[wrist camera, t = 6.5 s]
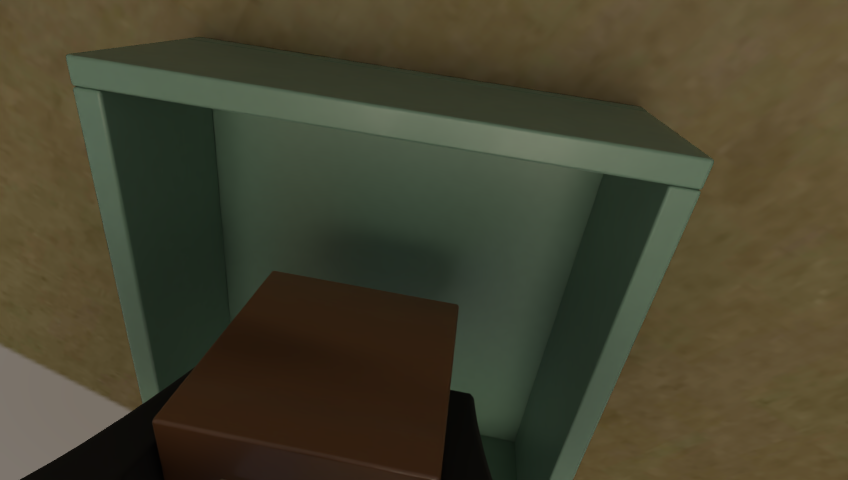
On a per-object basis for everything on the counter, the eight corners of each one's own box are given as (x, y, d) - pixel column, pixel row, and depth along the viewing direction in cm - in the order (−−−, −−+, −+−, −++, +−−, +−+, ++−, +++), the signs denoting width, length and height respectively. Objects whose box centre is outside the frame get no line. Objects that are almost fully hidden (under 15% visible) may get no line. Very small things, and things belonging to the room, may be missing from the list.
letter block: (432, 434, 13) (405, 633, 9) (276, 403, 13) (180, 583, 9) (459, 303, 11) (440, 486, 7) (272, 269, 11) (144, 426, 7)
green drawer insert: (525, 441, 18) (535, 566, 14) (230, 383, 19) (159, 486, 15) (642, 106, 12) (716, 159, 8) (198, 36, 13) (63, 54, 9)
